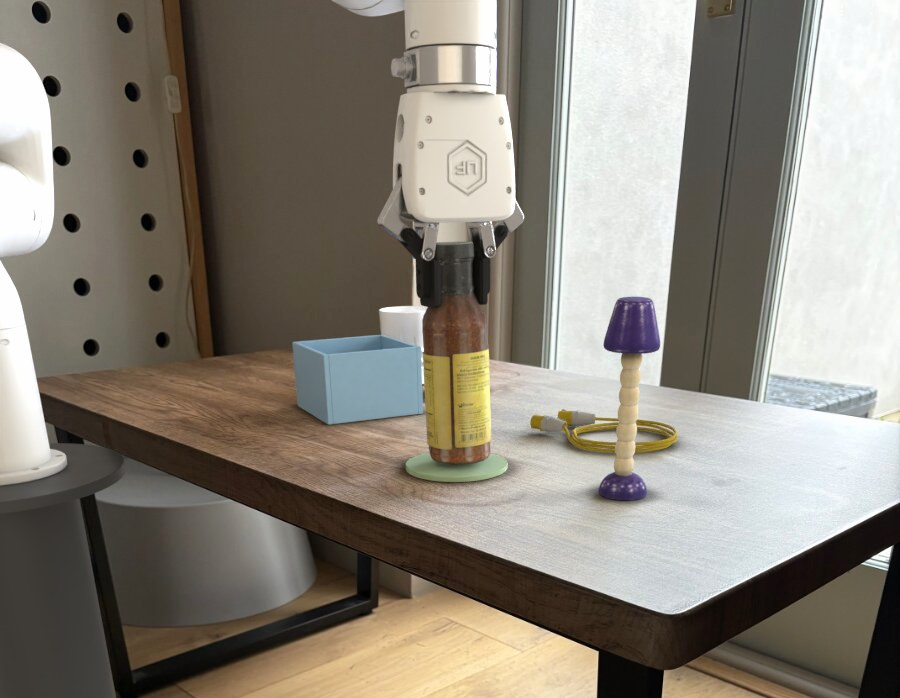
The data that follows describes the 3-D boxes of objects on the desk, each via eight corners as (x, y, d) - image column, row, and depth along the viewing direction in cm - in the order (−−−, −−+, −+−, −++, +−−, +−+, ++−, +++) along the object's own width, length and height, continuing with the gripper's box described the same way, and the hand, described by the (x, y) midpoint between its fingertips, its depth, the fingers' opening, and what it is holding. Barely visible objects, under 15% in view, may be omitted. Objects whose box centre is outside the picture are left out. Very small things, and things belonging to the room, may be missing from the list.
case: (328, 424, 109) (323, 355, 106) (297, 405, 119) (292, 341, 116) (423, 413, 114) (421, 346, 110) (385, 396, 124) (382, 334, 121)
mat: (431, 487, 85) (431, 482, 85) (390, 462, 93) (389, 457, 93) (526, 473, 89) (526, 468, 89) (478, 450, 97) (478, 445, 97)
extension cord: (608, 416, 110) (609, 400, 110) (701, 444, 98) (703, 425, 97) (522, 429, 105) (522, 412, 104) (609, 461, 92) (610, 441, 92)
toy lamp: (659, 498, 81) (675, 299, 74) (612, 505, 79) (624, 302, 73) (631, 484, 85) (643, 293, 78) (585, 490, 84) (594, 296, 77)
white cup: (429, 375, 137) (427, 304, 133) (443, 384, 130) (441, 310, 126) (376, 378, 136) (373, 307, 131) (388, 388, 129) (385, 313, 125)
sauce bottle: (495, 452, 93) (498, 240, 85) (484, 469, 87) (487, 243, 79) (431, 449, 94) (429, 240, 86) (417, 465, 89) (413, 243, 81)
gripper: (374, 67, 71) (384, 315, 79) (560, 75, 78) (553, 303, 85) (341, 78, 77) (353, 306, 85) (516, 84, 84) (513, 296, 91)
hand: (453, 302), depth 85 cm, fingers closed on sauce bottle, 4 cm apart
